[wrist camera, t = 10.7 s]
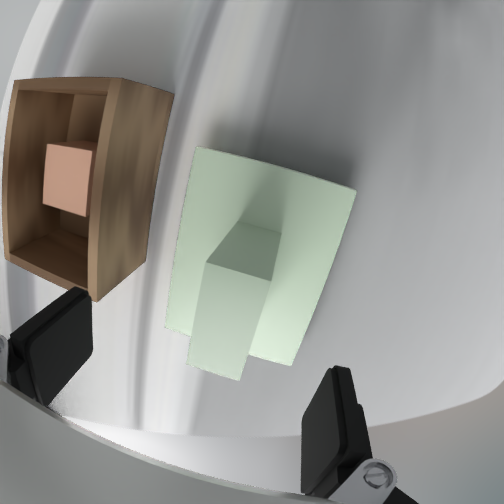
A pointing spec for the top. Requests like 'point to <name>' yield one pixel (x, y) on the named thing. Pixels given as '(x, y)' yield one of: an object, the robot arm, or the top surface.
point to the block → (70, 175)
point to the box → (104, 180)
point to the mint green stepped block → (251, 259)
